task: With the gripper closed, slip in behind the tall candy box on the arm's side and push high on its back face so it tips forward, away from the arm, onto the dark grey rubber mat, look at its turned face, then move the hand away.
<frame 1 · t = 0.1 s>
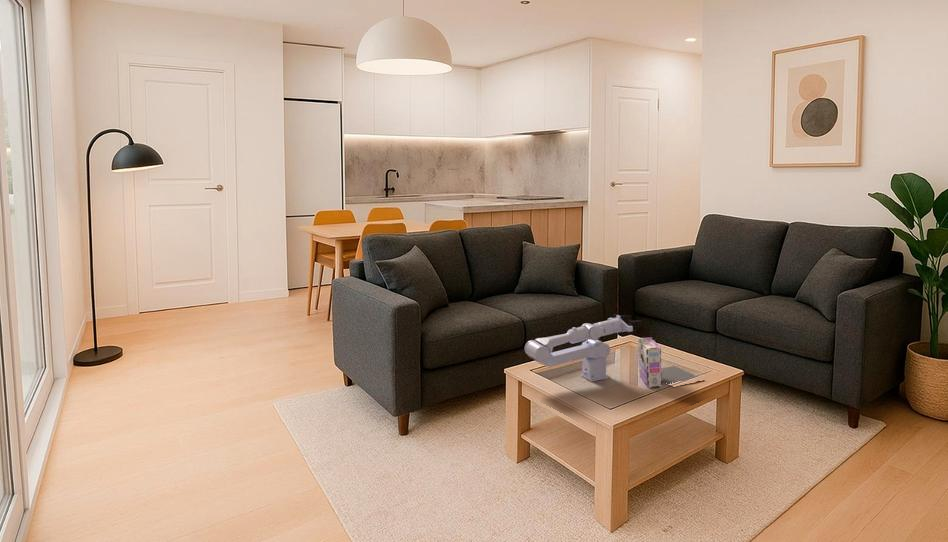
hand: (636, 320, 253), 22 cm above the table, tool horizontal, fingers open, 7 cm apart
candy box: (650, 381, 244), on the table, touching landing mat
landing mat: (674, 376, 248), on the table
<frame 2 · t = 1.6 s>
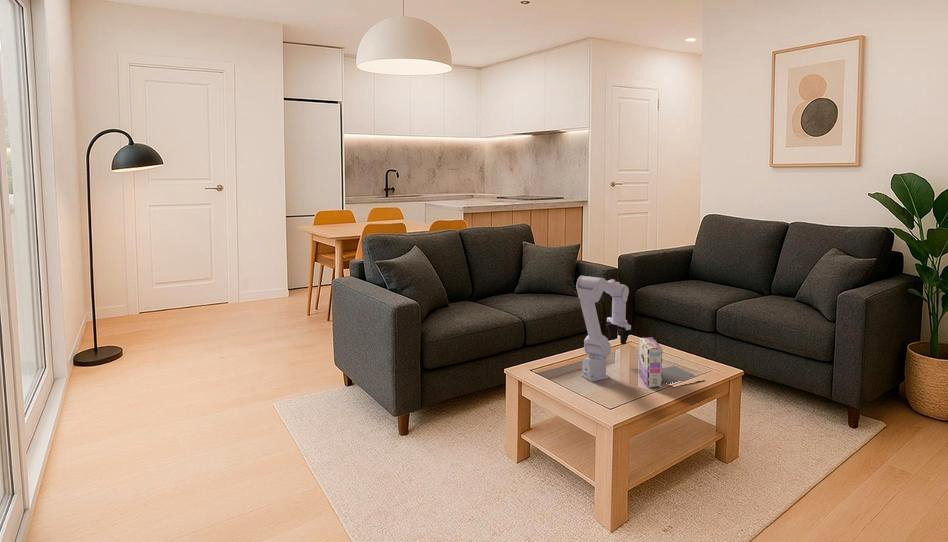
hand: (618, 341, 261), 10 cm above the table, tool pointing down, fingers open, 7 cm apart
nothing on the table moved.
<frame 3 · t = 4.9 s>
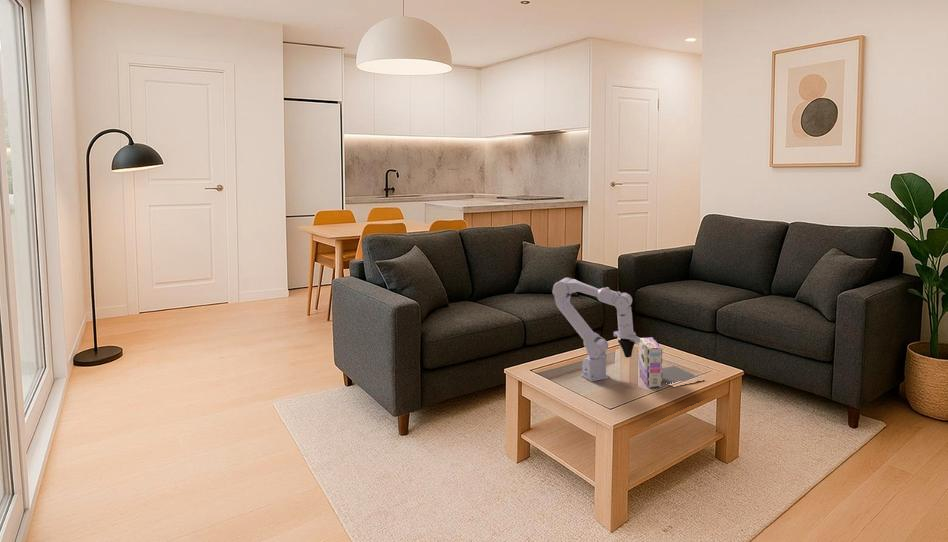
hand: (628, 356, 242), 11 cm above the table, tool pointing down, fingers closed
nothing on the table moved.
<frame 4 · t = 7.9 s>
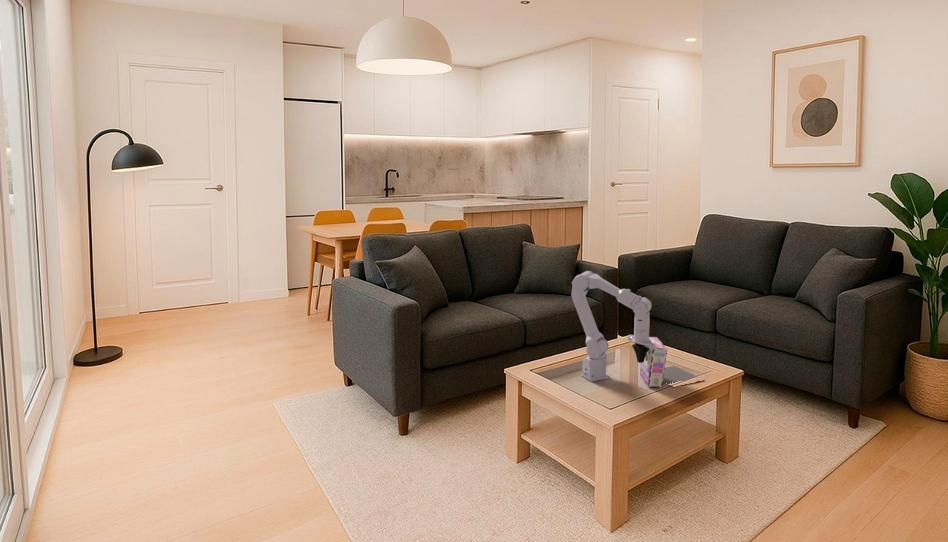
hand: (640, 362, 239), 9 cm above the table, tool pointing down, fingers closed
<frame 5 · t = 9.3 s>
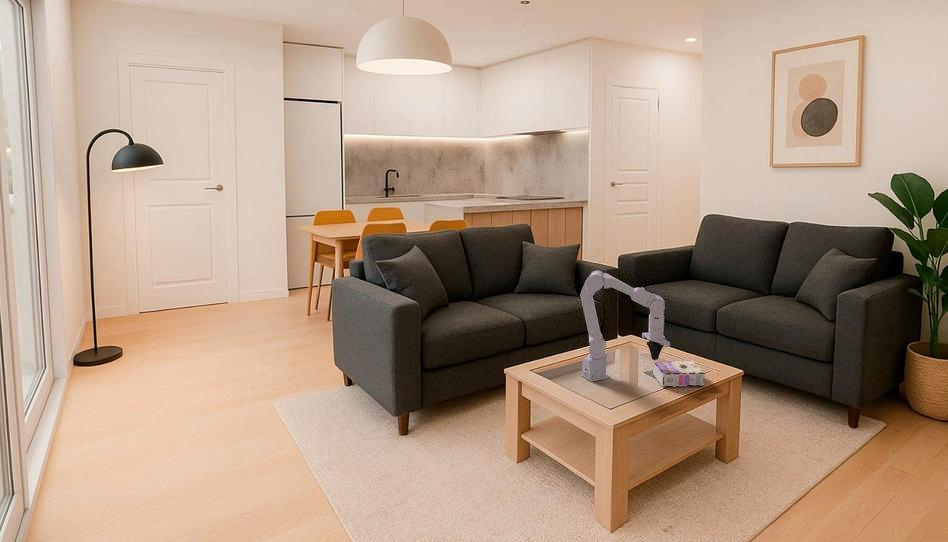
hand: (654, 359, 242), 9 cm above the table, tool pointing down, fingers closed
candy box: (657, 374, 243), point 3 cm above the table, touching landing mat
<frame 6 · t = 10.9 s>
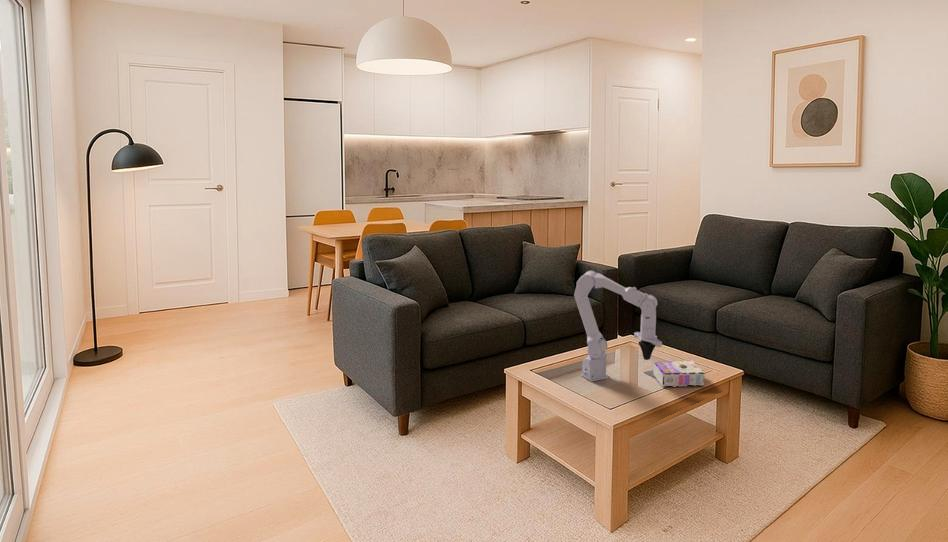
hand: (646, 359, 240), 10 cm above the table, tool pointing down, fingers closed
nothing on the table moved.
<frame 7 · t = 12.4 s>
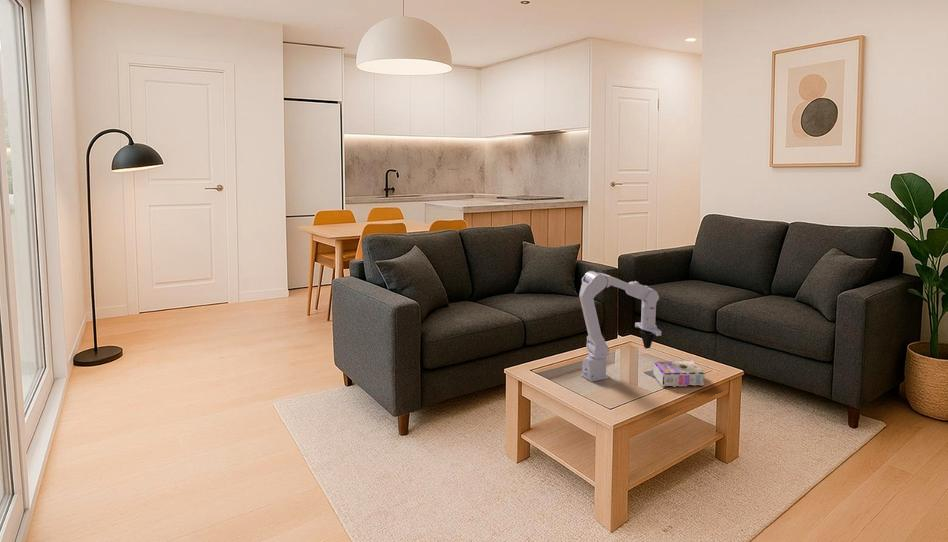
hand: (647, 347, 253), 10 cm above the table, tool pointing down, fingers closed
nothing on the table moved.
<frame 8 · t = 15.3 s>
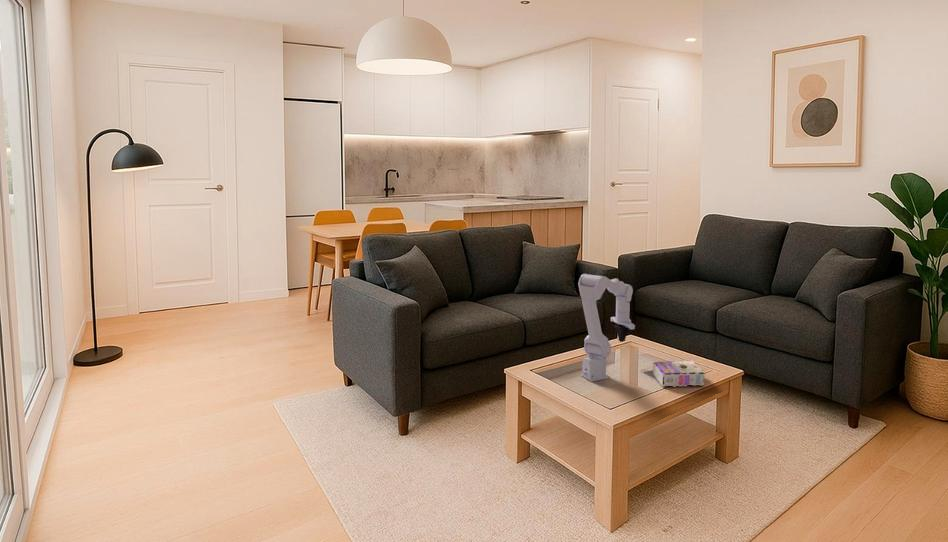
hand: (621, 341, 262), 10 cm above the table, tool pointing down, fingers closed
nothing on the table moved.
at the end: candy box tilted 89°; candy box touching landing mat; candy box inside the target area (1.9 cm from its centre), point 3.2 cm above the table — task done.
